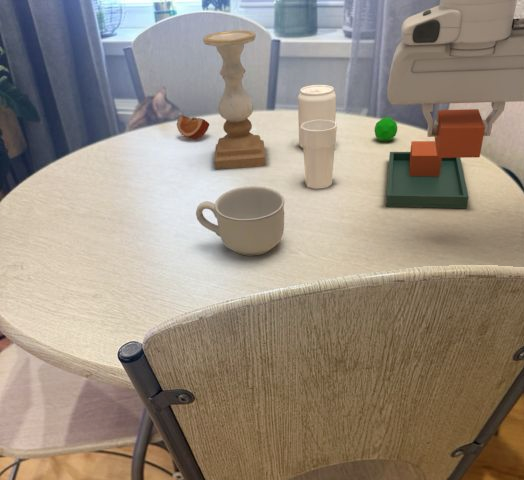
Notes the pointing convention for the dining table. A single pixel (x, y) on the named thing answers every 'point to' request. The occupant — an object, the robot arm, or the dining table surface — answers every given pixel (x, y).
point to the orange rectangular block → (424, 159)
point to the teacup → (247, 219)
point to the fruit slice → (192, 127)
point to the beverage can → (316, 105)
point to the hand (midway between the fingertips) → (457, 135)
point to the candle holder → (235, 105)
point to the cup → (318, 152)
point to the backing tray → (425, 185)
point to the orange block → (459, 133)
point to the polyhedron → (386, 129)
